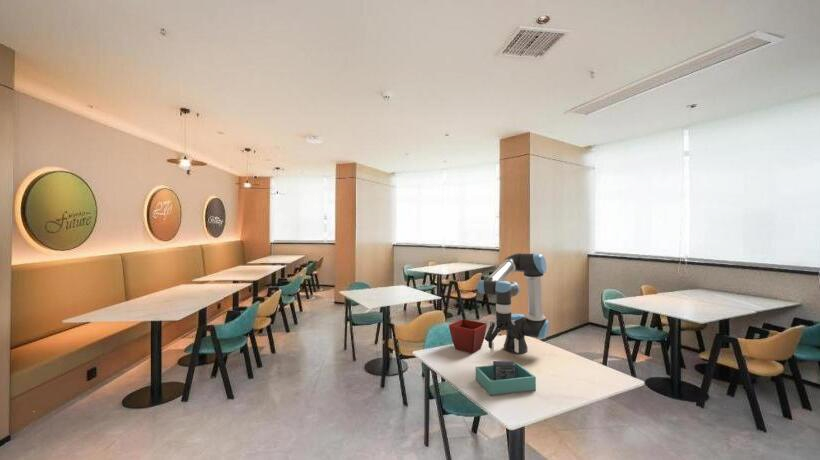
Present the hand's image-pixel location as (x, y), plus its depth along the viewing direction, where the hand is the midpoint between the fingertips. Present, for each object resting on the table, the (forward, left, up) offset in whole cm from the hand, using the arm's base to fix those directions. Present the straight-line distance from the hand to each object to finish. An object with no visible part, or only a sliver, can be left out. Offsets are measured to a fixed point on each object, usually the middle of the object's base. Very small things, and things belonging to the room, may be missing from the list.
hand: (504, 353), depth 169 cm
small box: (0, 0, -16) cm, 16 cm away
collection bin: (0, 0, -16) cm, 16 cm away
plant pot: (-1, -53, -17) cm, 55 cm away
